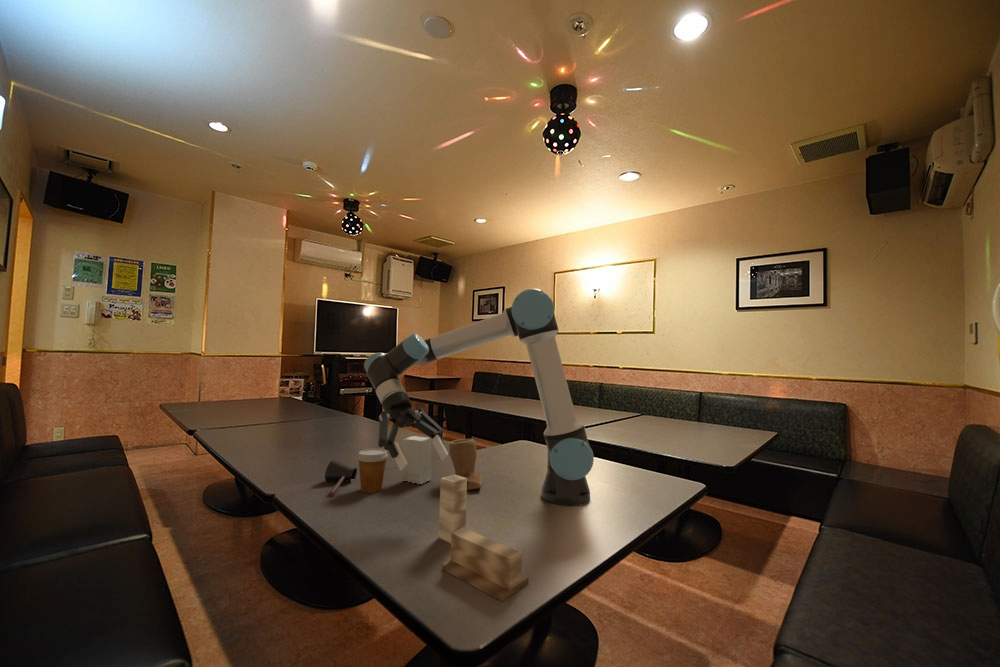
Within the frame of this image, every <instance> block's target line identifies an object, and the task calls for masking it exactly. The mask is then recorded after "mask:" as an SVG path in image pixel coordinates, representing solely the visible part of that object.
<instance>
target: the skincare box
mask: <svg viewBox="0 0 1000 667" xmlns="http://www.w3.org/2000/svg"><path fill="white" fill-rule="evenodd" d="M431 443H432V438H431V437H428V436H427V437H426V436H425V437H424V436H415V435H412V436H409V437H408V436H407V437H406V438H403V439H402V453H403V455H404V457H405V459H406V461H407V463H408V464H407V465H406V467H405V468H404V469H403V470H402V481H403V480H405V481H408V482H407V483H409V482H412V483H411V484H414V483H418V484H417V485H419V484H422V485H424V484H426V483H425V482H427V481H429V480H432V455H431V454H432V448H431V447H432V444H431ZM429 482H430V481H429ZM423 483H424V484H423ZM427 483H428V482H427Z"/></svg>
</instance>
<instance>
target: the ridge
mask: <svg viewBox="0 0 1000 667" xmlns="http://www.w3.org/2000/svg"><path fill="white" fill-rule="evenodd" d="M441 570H443V571H445V572H447V573H448V574H451V575H452V576H454V577H456V578H458V579H460V580H461V581H464V582H465V583H467V584H469V585H471V586H472V587H474V588H476V589H478V590H480V591H481V592H483V591H484V593H485V594H487V595H489V596H491V597H493V599H494V598H495V599H496V600H498V601H500V602H504V601H505V600H507V599H509V597H510V595H511V596H512V595H514V594H516V593H517V592H518V591H519V590H521V589H522V588H523V587H525V586H527V585H528V584H529V576H527V575H524V574H522V573H523V552H522V551H519V550H518V549H514V548H512V547H509V546H507V545H505V544H502V543H500V542H499V541H498V542H497V541H496V540H493V539H491V538H488V537H486V536H484V535H481V534H479V533H477V532H474V531H471V530H470V529H468V528H466V529H465V528H461V529H459V530H457V531H455V532H452V533H451V543H450V559H449V560H447V561H445V562H443V563H442V564H441ZM527 583H528V584H527ZM524 585H525V586H524ZM521 587H522V588H521ZM520 588H521V589H520ZM517 590H518V591H517ZM513 593H514V594H513Z"/></svg>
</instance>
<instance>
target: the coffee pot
mask: <svg viewBox="0 0 1000 667" xmlns="http://www.w3.org/2000/svg"><path fill="white" fill-rule="evenodd" d="M357 474H358V468H357V467H353V468H352V467H351V466H349V465H347V464H345V463H343V462H341V461H339V460H337V459H332V460H330V462H329V463H328V464H327V467H326V469H325V473H324V481H325V483H336V484H334V486H333V487H332V488H331V489H327V490H326V491H325V495H326V496H327V495H328V496H330V497H333V496H335V494H336V493H337V491H338V490H339V488H340V486H341V484H342V483H343V482H349V483H351V479H355V480H356V477H357ZM335 481H338V482H335ZM328 491H329V492H328ZM327 492H328V493H327Z"/></svg>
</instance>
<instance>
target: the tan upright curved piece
mask: <svg viewBox="0 0 1000 667" xmlns="http://www.w3.org/2000/svg"><path fill="white" fill-rule="evenodd" d="M448 450H449V452H448V453H449V456H450V459H451V462H452V465H453V468H454V471H455V472H454V474H455V475H458V476H461V477H464V478H467V491H470V490H471V491H472V490H476V489H478V488H481V487H482V484H483V475H482V474H481V473H479V472H476V460H477V443H476V441H475V439H472V438H464V439H455V440H452V441H450V442H449V443H448Z"/></svg>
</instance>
